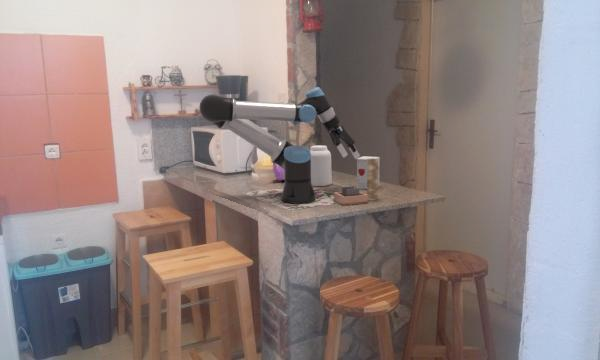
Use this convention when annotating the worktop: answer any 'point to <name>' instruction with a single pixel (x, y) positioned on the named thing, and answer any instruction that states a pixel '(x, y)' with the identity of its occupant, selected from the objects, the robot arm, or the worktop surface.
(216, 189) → the worktop surface
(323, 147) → the can
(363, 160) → the supplement box
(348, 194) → the square copper tray
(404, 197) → the worktop surface
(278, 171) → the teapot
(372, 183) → the bar
